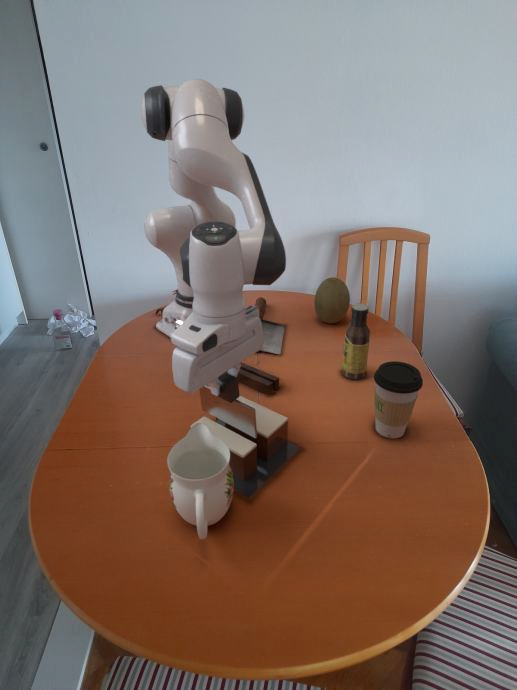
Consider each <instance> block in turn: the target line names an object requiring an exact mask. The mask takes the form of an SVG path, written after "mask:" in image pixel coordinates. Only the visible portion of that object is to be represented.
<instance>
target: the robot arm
mask: <svg viewBox="0 0 517 690" xmlns="http://www.w3.org/2000/svg"><path fill="white" fill-rule="evenodd" d="M140 116H141V120H142V125H143V126H144V128H145V130H146V134H148V136H150V138H152V139H154V140H157V141H160V142H161V141H162V142H166V141H167V158H168V159H167V161H168V179H169V180H168V182H169V185H170V187H171V189H172V190H173V191H174V192H175V193H176V195H179V196H180V197H182V198H184V199H186V200H190V201H191V202H190V204H186V205H185V204H184V205H175V206H166V207H162V208H159V209H156V210H153V211H150V212H148V214H147V216H145V219H144V223H143V231H144V235H145V237H146V239H147V241H148V242H149V244H150V245H152V247H154V248H156V249H158V250H160V252H162V253H163V254H165V255H166V257H168V259H169V261H170V262H171V264H172V266H173V269H174V273H175V277H176V284H177V288H176V290H173V291H172V295H173V296H174V295H175V298H174V300H173V301H172V302H170V303H169V304H168V305H166V306H164V307H160V308H157V310H156V311H155V313H154V314H155V315H158V313H160V314H161V317H162V318H161V319H160V320H159V321H158V322H156V324H155V328H156V329H157V330H158V331H160V332H162V333H163V334H164V335H166V336H167V337H169V338H170V343H171V344H172V345H174V346H175V347H174V349H173V351H172V354H171V368H172V369H171V370H172V378H173V384H174V385H175V386H176V387H177V388H178V389H179V390H181V391H183V392H185V393H187V394H190V395H192V394H194V393H196V392H197V391H199V389H200V388H202V387H203V386H205V385H208V386H210V388H211V393H212V394H214V395H216V396H218V395H219V394H221V393H222V392H223V385H221V384H219V383H217V382H216V381H218V377H219V376H220V375H222V374H224V373H225V372H227V371H228V374H230V375H233V376H235V377H237V375H238V372H239V369H240V367H241V362H242V363H243V361H245V360H247V359H248V358H250V357H252V355H254V354H256V353H257V352H259V350H260V349H261V348H262V346H263V343H264V338H263V328H262V323H261V320H260V318H259V309H258V308H257V307H256V306H255V305H254V304H251V305H248V306H246V301H245V300H246V299H245V298H244V292H243V289H244V286H245V285H252V286H271V285H272V284H274V283H275V282H276V281H277V280H279V278H280V277H282V275H283V274H284V273H285V271H286V268H287V252H286V248H285V245H284V242H283V239H282V237H281V234H280V233H279V231H278V228H277V226H276V224H275V222H274V219H273V216H272V214H271V210H270V207H269V205H268V202H267V198H266V196H265V193H264V189H263V187H262V184H261V182H260V179H259V176H258V173H257V170H256V168H255V166H254V163H253V161H252V159H251V158H250V157H249V155H248V154H246V153H244V152H243V151H241V150H240V149H239V148H238V147H237V146H236V145H235V143H234V142H233V141H234V140H236V139H237V138H238V137H239V136H240V135H241V133H242V129H243V126H244V123H245V109H244V104H243V100H242V97H241V96H240V94H239V92H237V91H236V90H234V89H231V88H228V87H221V88H218V87H215V86H214V85H213V84H212V83H211V82H209V81H208V80H204V79H201V78H191V79H188V80H185V81H183V82H182V83H181V84H180V85H170V86H169V85H168V86H163V85H161V84H160V85H154V86H151V87H148V89H146V91H145V92H144V96H143V98H142V100H141V104H140ZM215 188H218V189H220V190H224V191H226V192H228V193H231V194H233V195H234V196H235V197H236V198H237V199H239V201H240V202H241V205H242V207H243V208H242V209H243V211H244V215H245V217H246V221H247V223H248V226H249V229H243V230H238V228H237V227H236V226H237V220H236V215H235V213H234V211H233V209H232V208H231V206H229V204H227V203H225V202H224V201H222V200H221V199H220V197H219V196H218V194H217V193H216V189H215Z"/></svg>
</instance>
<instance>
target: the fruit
mask: <svg viewBox="0 0 517 690" xmlns="http://www.w3.org/2000/svg"><path fill="white" fill-rule="evenodd" d="M313 301H314V303H313V305H314V310H315V313H316V316H317V318H318V319H319V320H320V321H322V322H323V323H326V324H330V325H331V324H337V323H339V322H342V320H343V319H344V318H345V317H346V316H347V313H348V311H349V308H350V305H351V304H350V303H351V295H350V291H349V289H348V286H347V284H346V283H345V282H344V281H343V280H342V279H340V278H338V277H328V278H326V279H324V280H323V281H322V282H321V283H320V284H319V285H318V287H317V288H316V291H315V295H314V300H313Z"/></svg>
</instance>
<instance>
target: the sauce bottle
mask: <svg viewBox="0 0 517 690" xmlns="http://www.w3.org/2000/svg"><path fill="white" fill-rule="evenodd" d="M368 314H369V305H367V304H365V303H361V302H360V303H354V304H352V305H351V317H350V318H351V319H350V323H349V325H347V327H346V329H345V331H344V338H343V339H344V340H343V351H342V362H341V371H342V375H343V376H344V377H346V378H348V379H349V380H361V379H363V378H364V377H365V375H366V370H367V366H368V365H367V364H368V357H369V350H370V349H369V348H370V336H371V330H370V328H369V326H368V324H367V322H368V321H367V319H368Z"/></svg>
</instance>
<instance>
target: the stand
mask: <svg viewBox="0 0 517 690" xmlns="http://www.w3.org/2000/svg"><path fill="white" fill-rule="evenodd" d="M226 373H228V371H227V372H226ZM237 378H238V383H240V384H243V385H245V386H247V387H249V388H252V389H254V390H256V391H258V392H260V393H263V394H265V395H267V396H270V395H271V394H273V392H274V391H278V389H279V388H280V376H279V377H278V376H276V375H273V374H272V373H269V372H266V371H264V370H261V369H259V368H256V367H255V366H252V365H249V364H247V363H245V362H243V361H242V362H241V367H240V369H239V372H238V375H237Z"/></svg>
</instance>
